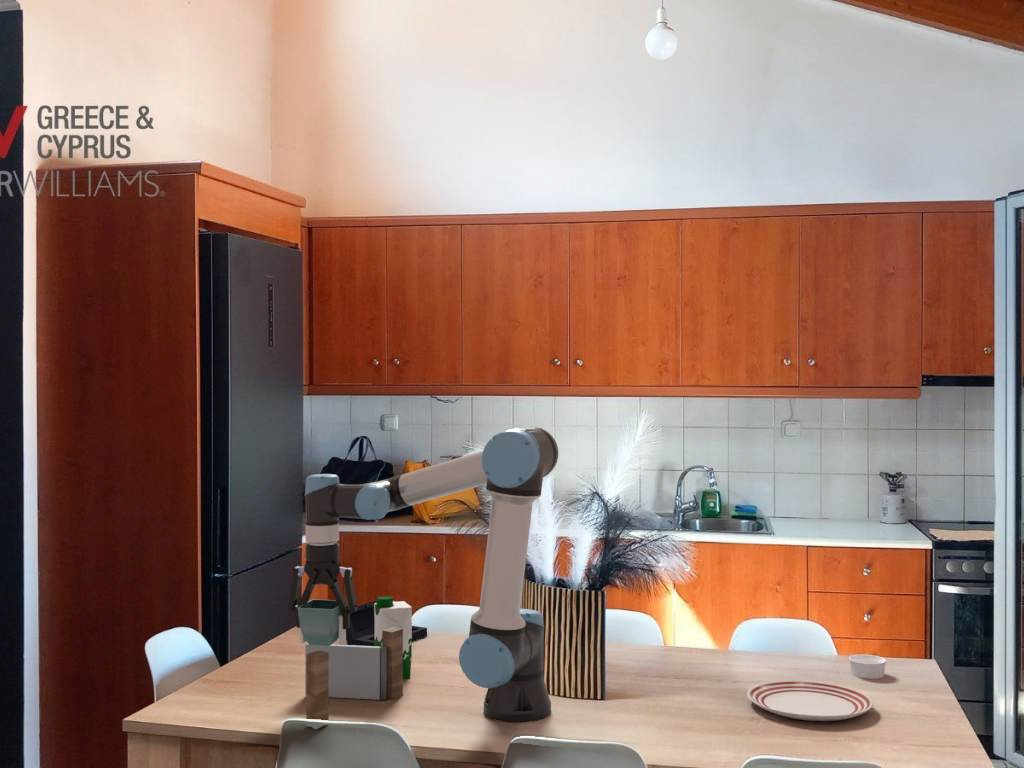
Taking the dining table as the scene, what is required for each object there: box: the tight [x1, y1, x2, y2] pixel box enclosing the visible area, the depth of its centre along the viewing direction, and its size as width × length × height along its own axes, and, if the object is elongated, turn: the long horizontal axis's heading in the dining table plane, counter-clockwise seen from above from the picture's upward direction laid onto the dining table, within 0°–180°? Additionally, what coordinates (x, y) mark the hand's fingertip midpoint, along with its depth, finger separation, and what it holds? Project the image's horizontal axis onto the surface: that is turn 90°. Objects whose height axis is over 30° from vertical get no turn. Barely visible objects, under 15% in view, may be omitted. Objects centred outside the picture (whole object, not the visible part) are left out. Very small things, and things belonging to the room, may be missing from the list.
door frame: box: [305, 627, 404, 720], centre depth 224 cm, size 3×28×16 cm, turn 146°
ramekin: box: [848, 654, 887, 680], centre depth 253 cm, size 9×9×4 cm
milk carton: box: [374, 595, 413, 680], centre depth 251 cm, size 9×9×20 cm
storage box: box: [346, 600, 428, 646], centre depth 286 cm, size 21×16×10 cm
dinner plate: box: [746, 680, 874, 722], centre depth 227 cm, size 28×27×3 cm
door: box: [304, 643, 388, 701], centre depth 234 cm, size 20×3×12 cm, turn 81°
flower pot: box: [298, 598, 342, 646], centre depth 227 cm, size 9×9×9 cm
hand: (323, 642), depth 227 cm, fingers closed on flower pot, 8 cm apart
